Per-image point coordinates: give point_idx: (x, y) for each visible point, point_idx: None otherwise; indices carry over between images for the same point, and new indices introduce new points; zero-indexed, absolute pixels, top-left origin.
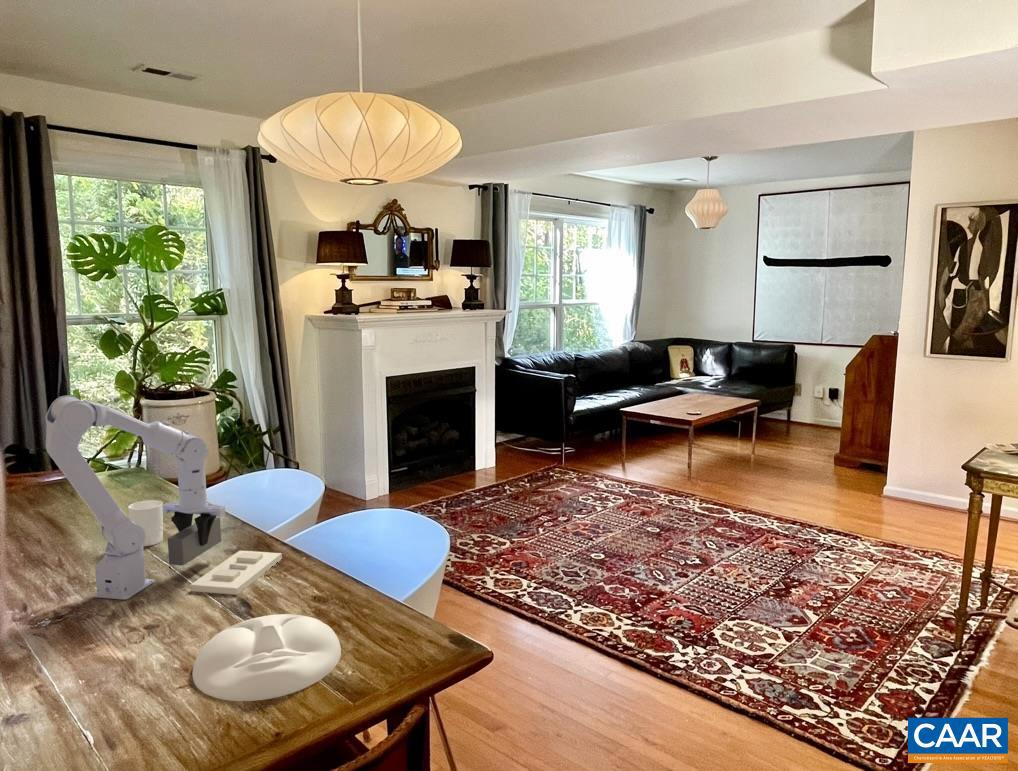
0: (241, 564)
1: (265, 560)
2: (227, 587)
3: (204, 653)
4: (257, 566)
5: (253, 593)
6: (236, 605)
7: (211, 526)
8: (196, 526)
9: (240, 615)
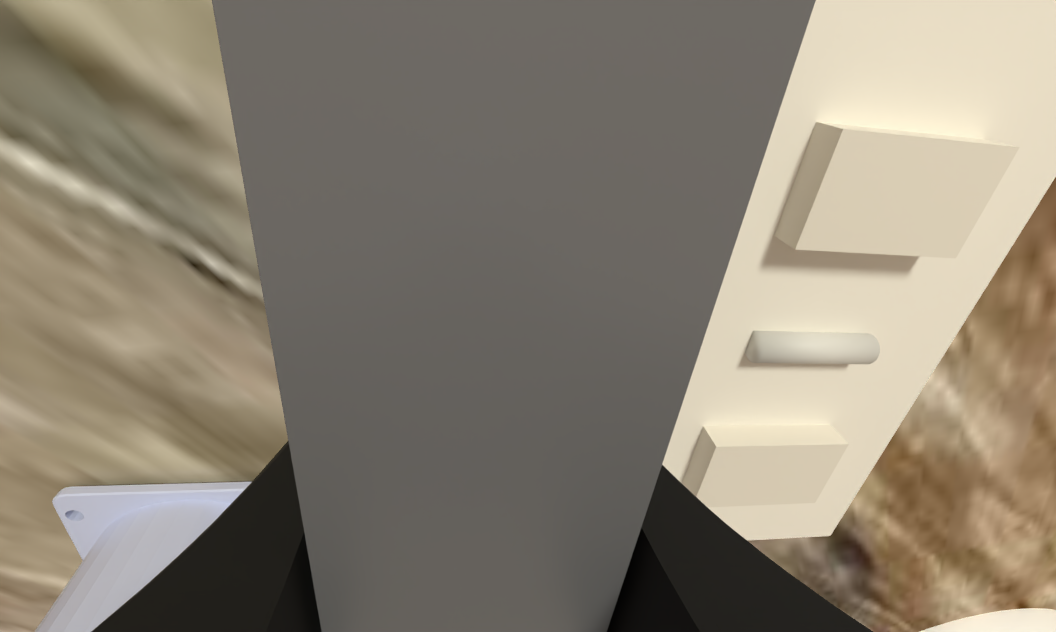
0: (818, 285)
1: (996, 191)
2: (783, 537)
3: None
4: (930, 302)
5: (875, 485)
6: (815, 564)
7: (745, 545)
8: (468, 604)
9: (837, 604)
